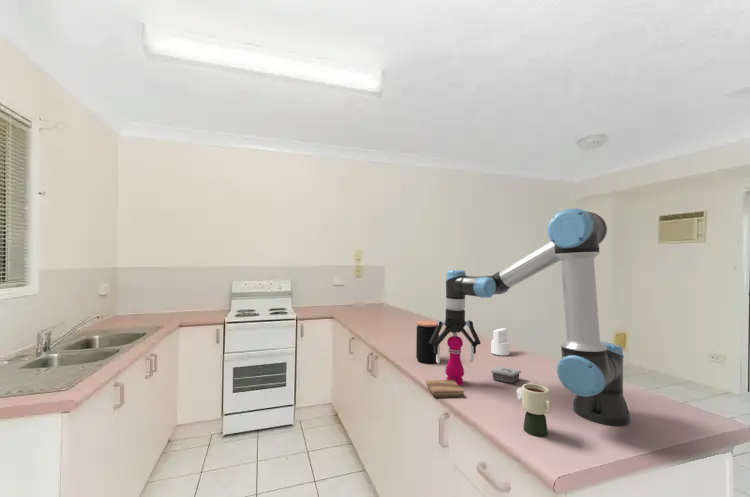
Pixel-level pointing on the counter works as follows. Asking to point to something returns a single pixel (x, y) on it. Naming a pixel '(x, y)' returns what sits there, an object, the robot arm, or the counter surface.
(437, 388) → the walnut stand
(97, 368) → the counter surface
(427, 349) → the coffee jar
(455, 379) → the pepper mill
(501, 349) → the cylinder with rectangular tab
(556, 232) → the robot arm
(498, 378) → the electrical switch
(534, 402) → the character mug
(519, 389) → the garlic
